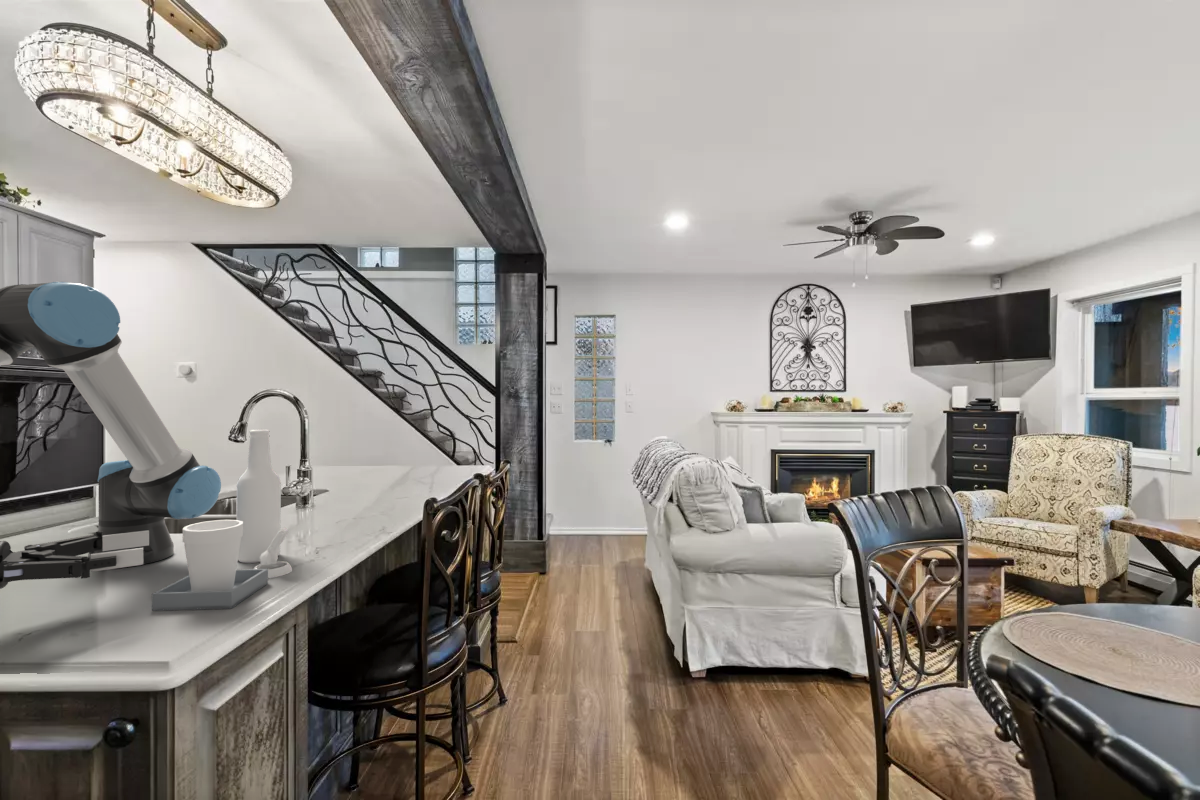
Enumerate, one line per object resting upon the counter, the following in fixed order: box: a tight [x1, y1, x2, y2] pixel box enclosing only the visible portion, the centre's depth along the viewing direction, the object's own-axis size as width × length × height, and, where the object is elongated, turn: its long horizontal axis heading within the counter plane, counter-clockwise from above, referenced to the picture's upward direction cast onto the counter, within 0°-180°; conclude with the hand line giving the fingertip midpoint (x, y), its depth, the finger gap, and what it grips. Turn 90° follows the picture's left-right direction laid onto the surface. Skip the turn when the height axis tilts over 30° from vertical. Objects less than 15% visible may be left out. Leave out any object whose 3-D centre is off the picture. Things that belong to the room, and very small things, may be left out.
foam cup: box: [182, 519, 243, 592], centre depth 105 cm, size 10×9×13 cm
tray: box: [151, 568, 269, 612], centre depth 105 cm, size 13×13×3 cm
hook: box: [253, 526, 293, 579], centre depth 119 cm, size 8×12×7 cm
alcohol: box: [235, 429, 282, 564], centre depth 129 cm, size 9×9×30 cm
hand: (146, 546), depth 99 cm, fingers open, 13 cm apart
